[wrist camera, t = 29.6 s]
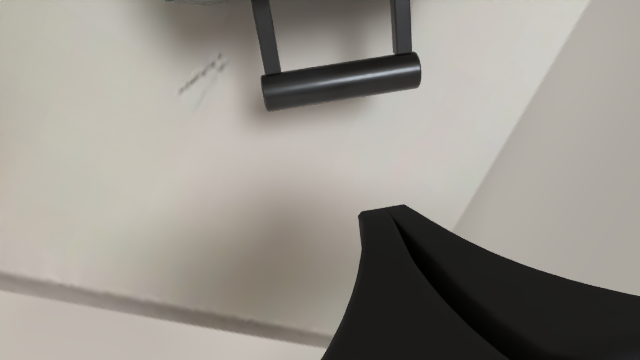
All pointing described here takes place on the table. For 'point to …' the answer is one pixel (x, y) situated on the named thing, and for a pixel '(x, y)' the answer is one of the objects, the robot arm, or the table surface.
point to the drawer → (333, 65)
